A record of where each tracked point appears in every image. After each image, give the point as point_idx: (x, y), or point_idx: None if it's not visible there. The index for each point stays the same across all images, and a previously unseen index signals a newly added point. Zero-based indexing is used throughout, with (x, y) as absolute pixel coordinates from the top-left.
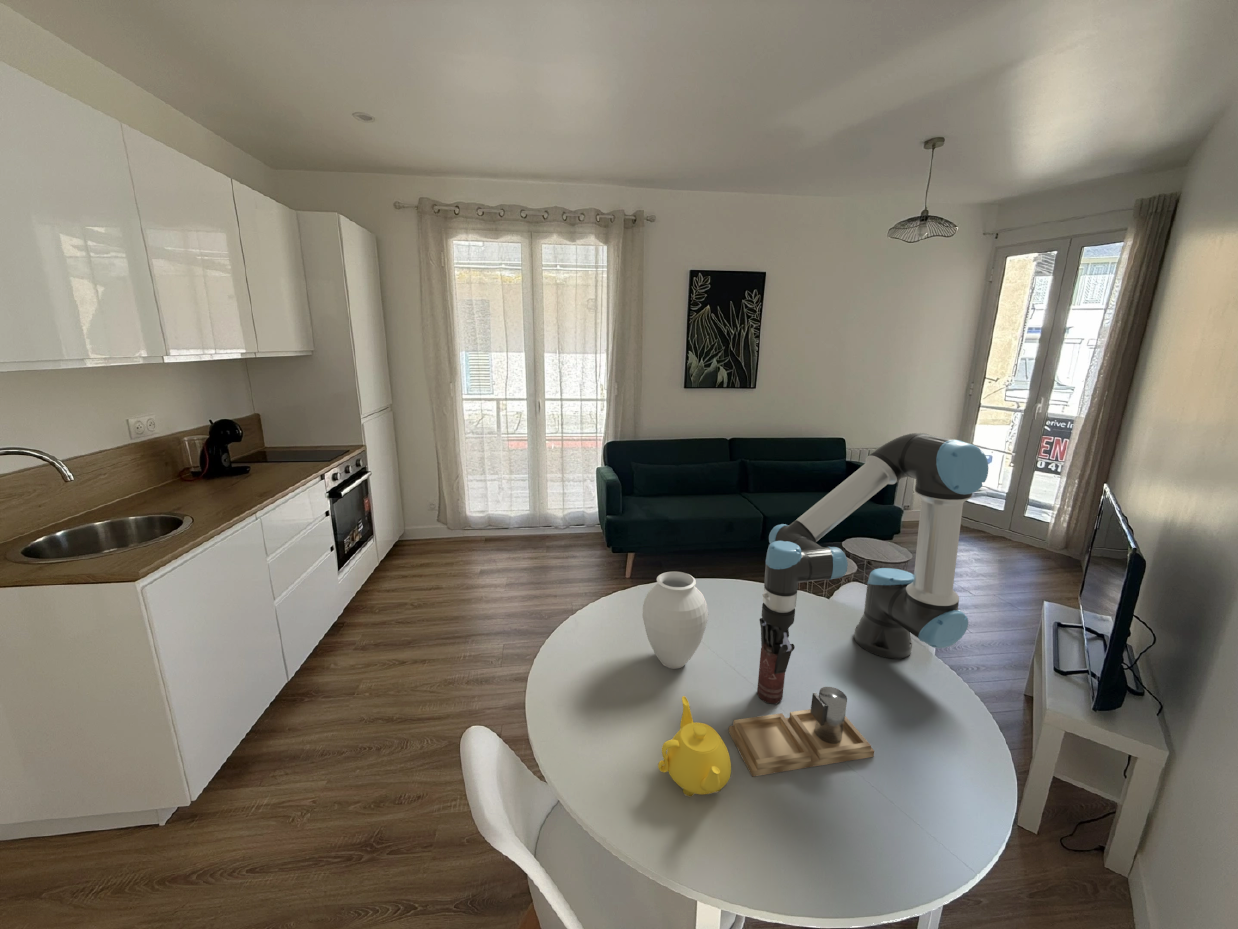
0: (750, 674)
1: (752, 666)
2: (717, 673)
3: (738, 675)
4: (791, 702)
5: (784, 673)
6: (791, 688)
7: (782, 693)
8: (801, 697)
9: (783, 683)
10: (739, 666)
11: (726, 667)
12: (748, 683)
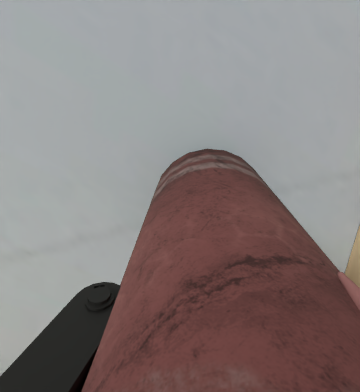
0: (64, 208)
1: (8, 174)
2: (53, 315)
3: (68, 255)
4: (269, 124)
5: (317, 245)
6: (182, 64)
7: (262, 179)
8: (255, 49)
9: (282, 203)
10: (10, 227)
11: (18, 275)
12: (118, 240)
